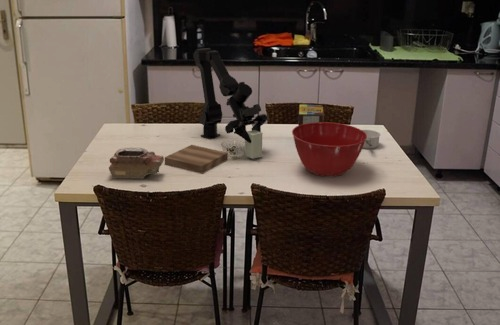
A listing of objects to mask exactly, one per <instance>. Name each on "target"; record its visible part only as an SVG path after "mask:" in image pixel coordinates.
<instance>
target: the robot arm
mask: <svg viewBox="0 0 500 325" xmlns="http://www.w3.org/2000/svg"><path fill="white" fill-rule="evenodd" d="M192 54H193V59H194V64H195V65H196V66H197V68H198V69H199V72H200V77H201V84H202V91H203V97H204V98H203V99H204V103H203V106H202V112H201V115H200V116H199V118H198V120H199V124H201V125H203V132H202V133H203V134H201V135H200V137H202V138H206V139H211V140H212V139H215V138H217V137H220V136H221V134H220V133H218V124H221V123H222V118H223V111H222V105H221V103H218V102H217V98H216V93H215V86H214V80H213V79H214V78H213V72H212V70H213V71H214V74H215V76H216V78H217V79H218V80H219V89H220V90H219V91H220V93H221V95H222V96H223V97H229V98H227V99H226V100H227V101H226V107H227V106H229V107H230V109H231V111H232V113H233V114H232V118H235V119H234V120H231V121H229V122H228V123H227V124H226V126H224V127H225V129H224V130H225V132H226V134H232V133H233V134H234V135H237V136H239V137H241V138H242V139H243V140H244V141H245V140H246V141H247V142H249V143H251V139H250V137H249V135H248V133H247V132H248V131H247V128H246V127H247V126H250V125H251V131H252V130H256V131H259V132H261V133H262V131H261V127H262V126H263V125H264V124H265V123H266V122H267V120H269V117H268V115H267V114H266V113H262V114H260V112H262V108H261V106H260V104H259V103H256V104H253V105H252V107H250V106H247V105H246V104H245V103H246V102H247V101H248V99H249V98H250V97H251V95H252V93H253V89H252V88H253V87H251V86H250V85H248V84H246V83H245V81H239V82H238V81H237V80H236V78H235V77H233V76H232V75H231V74H230V73H229V71H228V70H227V67H226V65H225V64H224V61H223V60H222V58H221V55H220V52H219V51H218V50H212V49H211V48H210V47H208V48H207V47H206V48H197V49H195V50H194V52H193V53H192ZM255 115H257V116H255ZM254 117H255V118H254Z"/></svg>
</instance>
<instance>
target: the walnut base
mask: <svg viewBox="0 0 500 325" xmlns="http://www.w3.org/2000/svg"><path fill="white" fill-rule="evenodd" d="M228 156H229V153H228V152H226V151H223V150H217V149H213V148H208V147H204V146H199V145H195V144H190V145H188V146H186V147H183V148H181V149H179V150H177V151H175V152H173V153H171V154H169V155H166V156H165V157H164V165H166V166H170V167H174V168H177V169H178V168H179V169H182V170H186V171H190V172H194V173H198V174H204V173H205V172H208V171H210V170H211V169H213V168H215V167H217V166H219V165H220V164H222V163H224V162H226V161H228Z"/></svg>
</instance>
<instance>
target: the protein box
mask: <svg viewBox="0 0 500 325" xmlns="http://www.w3.org/2000/svg"><path fill="white" fill-rule="evenodd" d="M315 122H324V106H323V105H321V104H299V108H298V122H297V123H298V125H297V126H299V125H302V124H306V123H315Z"/></svg>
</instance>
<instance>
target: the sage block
mask: <svg viewBox="0 0 500 325" xmlns="http://www.w3.org/2000/svg"><path fill="white" fill-rule="evenodd" d="M247 133H248V135H249V137H250V139H251V143H249V142H247V141H246V140H245V139H244V156H245V157H248V158H249V159H256V158H260V157H261V158H262V157H263V132H262V131H261V132H259V131H256V130H252V129H251V130H248V131H247Z"/></svg>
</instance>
